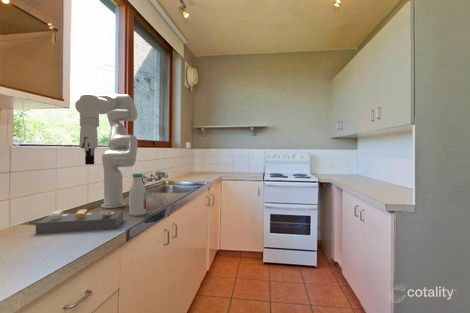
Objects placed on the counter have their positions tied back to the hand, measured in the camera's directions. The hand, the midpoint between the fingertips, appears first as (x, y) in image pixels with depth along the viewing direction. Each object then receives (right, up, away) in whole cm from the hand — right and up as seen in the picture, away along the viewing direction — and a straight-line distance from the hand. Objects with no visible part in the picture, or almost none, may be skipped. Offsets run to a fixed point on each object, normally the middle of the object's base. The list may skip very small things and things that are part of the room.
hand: (89, 164), depth 116 cm
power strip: (+2, -25, -8) cm, 27 cm away
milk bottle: (+17, -25, +12) cm, 33 cm away
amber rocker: (+3, -20, -10) cm, 23 cm away
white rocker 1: (-6, -20, -13) cm, 25 cm away
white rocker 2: (+11, -20, -8) cm, 25 cm away
